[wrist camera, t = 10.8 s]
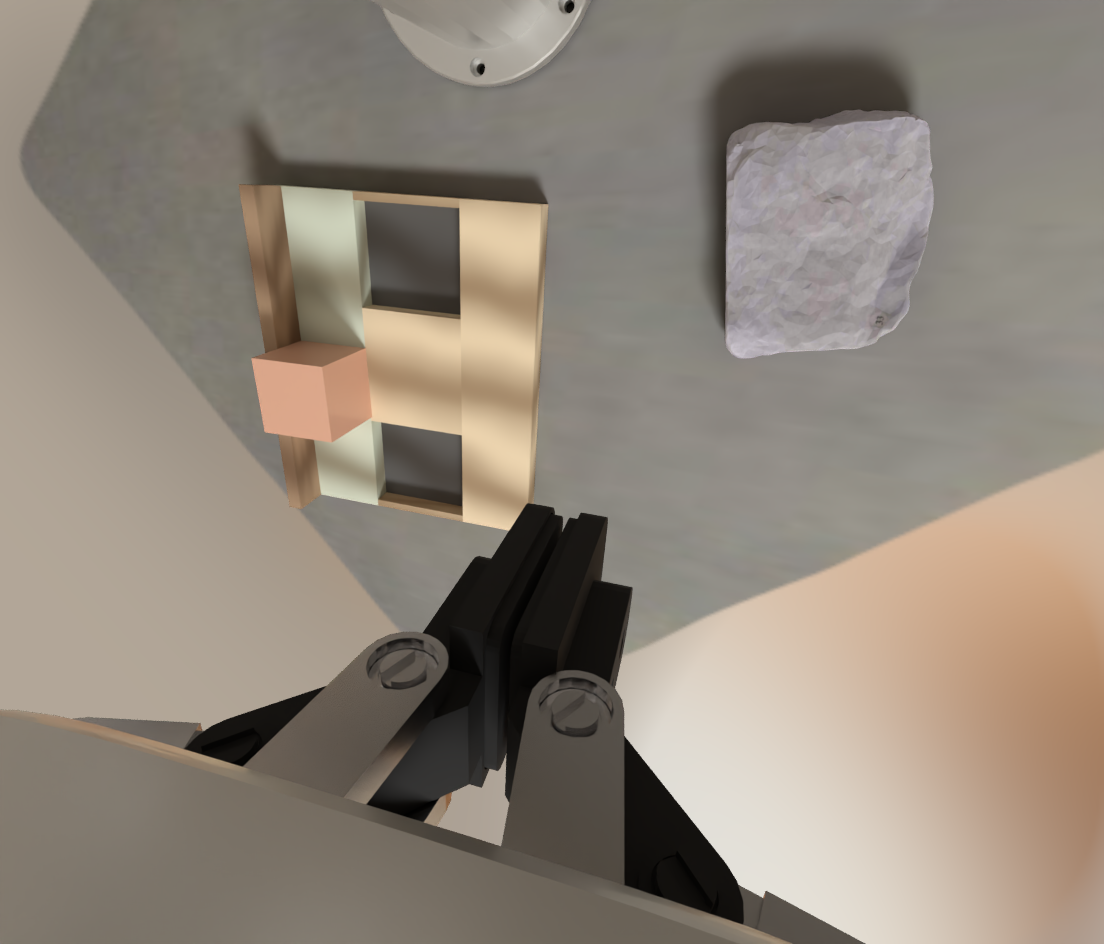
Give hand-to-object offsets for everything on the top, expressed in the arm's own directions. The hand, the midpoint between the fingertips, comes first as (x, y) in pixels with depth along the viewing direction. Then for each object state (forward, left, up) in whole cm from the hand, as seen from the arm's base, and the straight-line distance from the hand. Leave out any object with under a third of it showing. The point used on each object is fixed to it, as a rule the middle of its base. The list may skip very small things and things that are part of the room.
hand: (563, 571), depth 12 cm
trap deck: (+5, -17, -27) cm, 32 cm away
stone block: (-5, +7, -28) cm, 29 cm away
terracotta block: (+6, -22, -26) cm, 35 cm away
